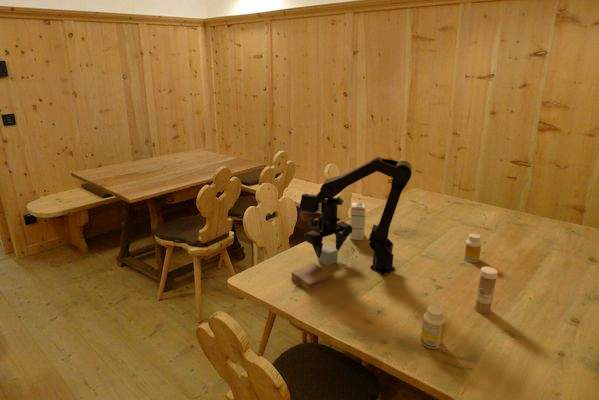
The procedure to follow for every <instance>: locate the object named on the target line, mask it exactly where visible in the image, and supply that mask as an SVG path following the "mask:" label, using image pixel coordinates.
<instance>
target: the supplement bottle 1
mask: <svg viewBox="0 0 599 400" xmlns="http://www.w3.org/2000/svg"><path fill="white" fill-rule="evenodd" d="M422 316H423V317H422V323H421V334H420V341H421V344H422V345H423V346H425V347H426V348H427V349H428V348H429V349H433V350H436V349H441V347H442V346H443V343H444V337H445V329H446V322H447V320H446V316H445V315H444V309H443V308H442V307H440V306H438V305H429V306H428V307H427V309H426V312H425V313H424V314H423V315H422Z"/></svg>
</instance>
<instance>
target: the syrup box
mask: <svg viewBox="0 0 599 400" xmlns="http://www.w3.org/2000/svg"><path fill="white" fill-rule="evenodd" d="M366 206H367V204H366V203H365V202H352V203H351V206H350V220H349V221H350V224H349V225H351V226H352V233H350V235H349V239H350V240H357V241H364V239H365V232H366V231H365V230H366V229H365V228H366Z"/></svg>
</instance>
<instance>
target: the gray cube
mask: <svg viewBox="0 0 599 400" xmlns="http://www.w3.org/2000/svg"><path fill="white" fill-rule="evenodd" d="M338 252H339V251H338V250H337V249H336V247H333V246H331V245H330V244H329V245H326V246H325V245H324V246H322V251H321V256H320V258H318V257H317V261H318V262H320V263H322V264H323V265H325V266H326V267H328V266H331V265H332V264H335V263H338V254H339V253H338Z"/></svg>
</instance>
